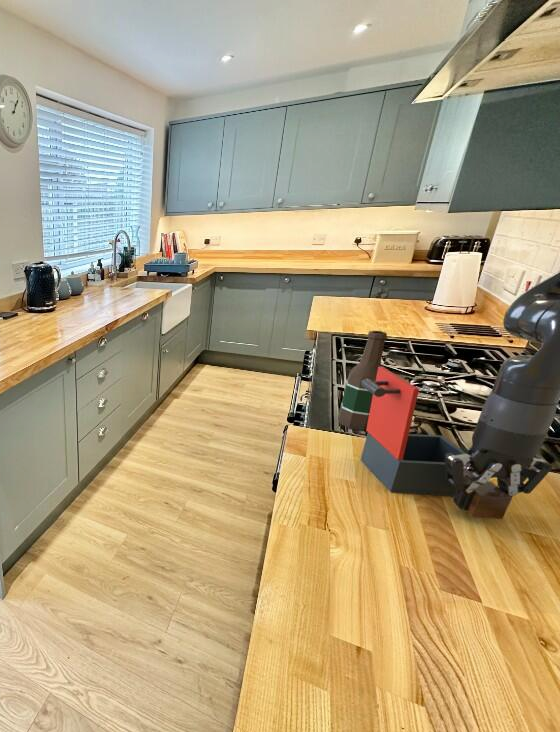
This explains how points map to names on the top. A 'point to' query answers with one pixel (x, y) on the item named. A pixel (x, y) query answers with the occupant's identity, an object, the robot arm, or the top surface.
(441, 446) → the food box
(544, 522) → the top surface
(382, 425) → the lid
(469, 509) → the block
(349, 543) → the top surface
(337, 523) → the top surface
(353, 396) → the beer bottle
